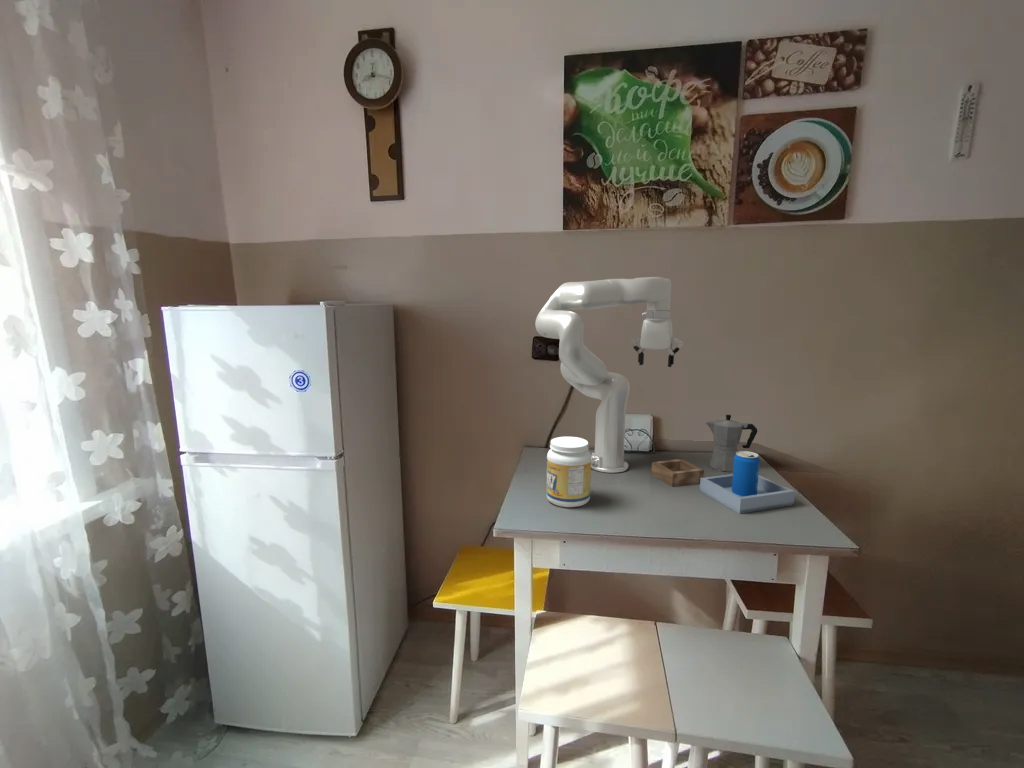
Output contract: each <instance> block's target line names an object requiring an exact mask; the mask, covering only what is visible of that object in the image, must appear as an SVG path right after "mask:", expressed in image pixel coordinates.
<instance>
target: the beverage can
mask: <svg viewBox="0 0 1024 768" xmlns="http://www.w3.org/2000/svg"><path fill="white" fill-rule="evenodd" d="M760 461H761V460H760V457H759V454H758V453H755V452H753V451H749V450H748V451H747V450H741V451H740V450H738V452H736V455H735V456H734V466H733V472H732V474H733V480H732V492H733V493H735V494H736V495H738V496H740V497H744V496H751V495H757V487H758V475H759V473H760Z"/></svg>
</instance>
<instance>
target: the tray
mask: <svg viewBox="0 0 1024 768" xmlns="http://www.w3.org/2000/svg"><path fill="white" fill-rule="evenodd" d="M732 480H733V473H729V474H722V475H716V476H714V475H713V476H706V477H703V478H701V479H700V483H699V492H700V493H702V494H703V495H705V496H707V497H709V498H711V499H712V500H714V501H716V502H718V503H720V504H721V505H724V506H725V507H727V508H729V509H731V511H734V512H736V513H738V514H739V513H740V514H747V513H752V512H758V511H765V510H770V509H771V510H772V509H776V508H777V509H778V508H782V507H783V508H784V507H790V506H794V504H795V497H796V496H795V495H796V491H795V490H793V489H791V488H789V487H787V486H784V485H783V484H780V483H778V482H776V481H773V480H771V479H769V478H766V477H764V476H762V475H758V487H757V495H751V496H744V497H740V496H738V495H736V494H735V493H733V492H732Z"/></svg>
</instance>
